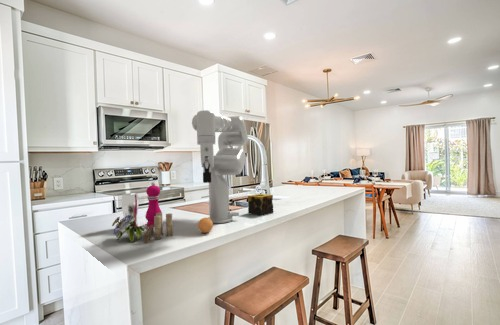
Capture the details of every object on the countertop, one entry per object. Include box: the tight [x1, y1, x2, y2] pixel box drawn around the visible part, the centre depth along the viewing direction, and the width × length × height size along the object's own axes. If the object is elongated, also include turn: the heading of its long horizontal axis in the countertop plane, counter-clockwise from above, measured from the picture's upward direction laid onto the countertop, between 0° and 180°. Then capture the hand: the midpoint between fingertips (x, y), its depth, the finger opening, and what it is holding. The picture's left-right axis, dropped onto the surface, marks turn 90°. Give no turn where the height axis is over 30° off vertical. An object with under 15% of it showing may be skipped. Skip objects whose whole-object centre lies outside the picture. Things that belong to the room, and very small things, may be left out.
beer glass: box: [120, 192, 140, 229], centre depth 117 cm, size 7×7×15 cm
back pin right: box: [156, 212, 164, 236], centre depth 105 cm, size 2×2×8 cm
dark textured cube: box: [247, 193, 274, 216], centre depth 143 cm, size 10×10×10 cm
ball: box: [197, 217, 214, 234], centre depth 106 cm, size 6×6×6 cm
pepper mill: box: [145, 181, 163, 228], centre depth 120 cm, size 7×7×20 cm
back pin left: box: [153, 216, 162, 241], centre depth 99 cm, size 2×2×8 cm
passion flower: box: [111, 212, 148, 243], centre depth 100 cm, size 11×11×12 cm
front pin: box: [165, 213, 174, 238], centre depth 103 cm, size 2×2×8 cm
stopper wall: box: [143, 225, 155, 244], centre depth 101 cm, size 2×15×3 cm, turn 14°
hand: (207, 181), depth 109 cm, fingers open, 9 cm apart
